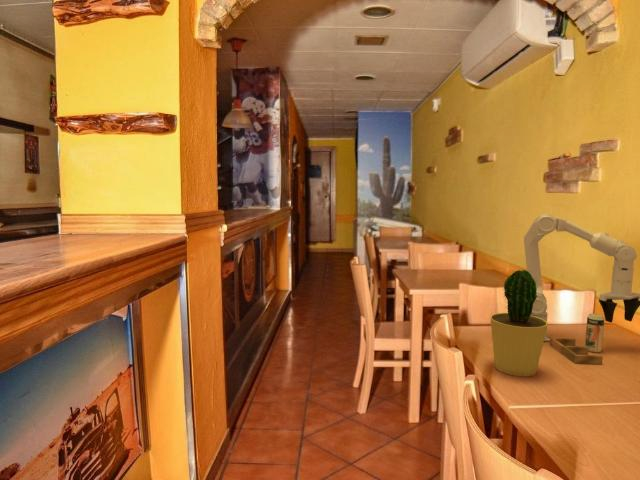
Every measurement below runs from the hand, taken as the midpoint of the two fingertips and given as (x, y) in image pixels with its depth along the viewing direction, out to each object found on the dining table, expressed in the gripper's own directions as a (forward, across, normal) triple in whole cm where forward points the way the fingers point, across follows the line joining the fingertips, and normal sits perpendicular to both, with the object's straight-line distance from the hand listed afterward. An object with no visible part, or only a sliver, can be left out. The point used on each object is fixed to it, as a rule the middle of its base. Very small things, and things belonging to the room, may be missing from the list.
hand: (618, 321), depth 154 cm
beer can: (+10, -9, 0) cm, 13 cm away
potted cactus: (+10, -45, -10) cm, 47 cm away
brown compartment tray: (+10, -18, -2) cm, 20 cm away
